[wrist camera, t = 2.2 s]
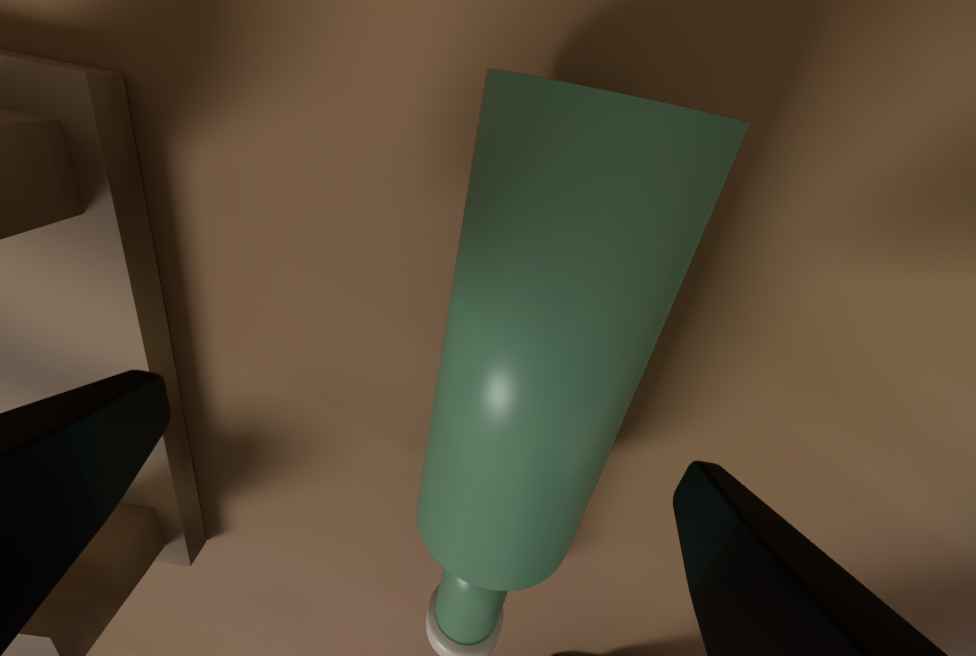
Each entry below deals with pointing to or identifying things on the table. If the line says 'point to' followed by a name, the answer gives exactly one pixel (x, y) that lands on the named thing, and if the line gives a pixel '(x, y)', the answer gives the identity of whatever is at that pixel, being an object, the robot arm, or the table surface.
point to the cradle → (86, 320)
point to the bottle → (552, 325)
